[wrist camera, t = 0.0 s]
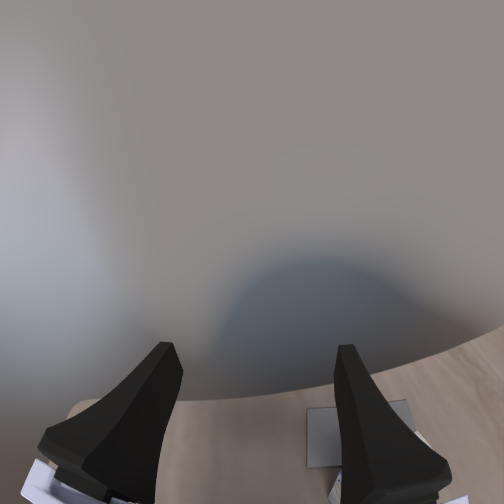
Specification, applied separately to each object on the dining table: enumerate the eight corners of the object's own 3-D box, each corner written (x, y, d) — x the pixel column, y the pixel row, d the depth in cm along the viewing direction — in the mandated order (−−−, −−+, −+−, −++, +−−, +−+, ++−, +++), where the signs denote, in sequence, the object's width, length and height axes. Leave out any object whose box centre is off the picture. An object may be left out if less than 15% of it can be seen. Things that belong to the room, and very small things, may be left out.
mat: (420, 453, 23) (421, 452, 22) (306, 468, 24) (307, 467, 24) (406, 401, 30) (406, 399, 30) (307, 410, 32) (307, 408, 32)
